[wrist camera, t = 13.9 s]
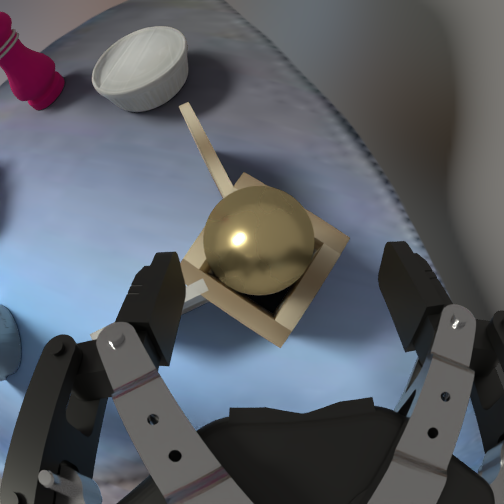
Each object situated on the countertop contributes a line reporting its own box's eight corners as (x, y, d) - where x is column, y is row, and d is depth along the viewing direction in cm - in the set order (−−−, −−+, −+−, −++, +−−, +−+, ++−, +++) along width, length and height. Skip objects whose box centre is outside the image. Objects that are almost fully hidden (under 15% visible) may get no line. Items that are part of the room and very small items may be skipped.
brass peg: (270, 306, 25) (274, 317, 11) (227, 278, 26) (182, 254, 12) (298, 263, 25) (334, 223, 12) (256, 235, 26) (243, 167, 12)
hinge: (229, 398, 24) (214, 436, 16) (101, 300, 26) (49, 299, 18) (341, 230, 26) (370, 202, 18) (204, 148, 28) (184, 100, 20)
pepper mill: (69, 92, 31) (-8, 4, 11) (32, 122, 30) (-52, 50, 11) (66, 67, 32) (2, -13, 12) (31, 94, 32) (-39, 26, 12)
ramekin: (110, 71, 31) (94, 47, 25) (190, 43, 31) (181, 14, 25) (109, 134, 29) (87, 110, 24) (202, 102, 29) (192, 70, 24)
